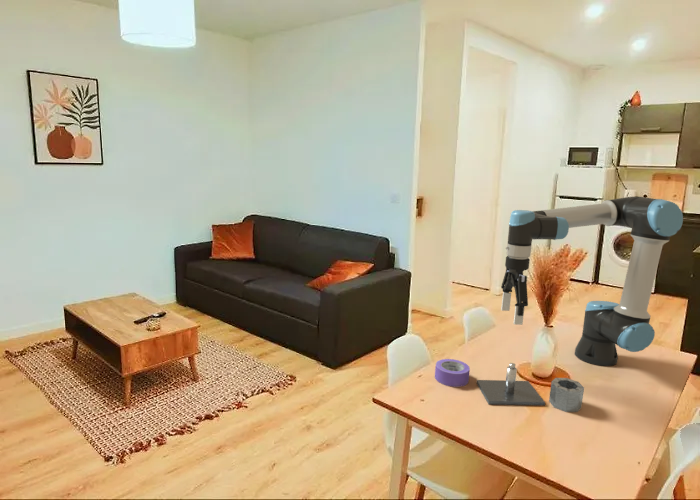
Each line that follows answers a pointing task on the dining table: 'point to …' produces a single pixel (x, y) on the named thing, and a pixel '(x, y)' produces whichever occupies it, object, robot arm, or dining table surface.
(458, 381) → the tape roll
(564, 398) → the ring
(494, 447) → the dining table surface
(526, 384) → the shaft stand
